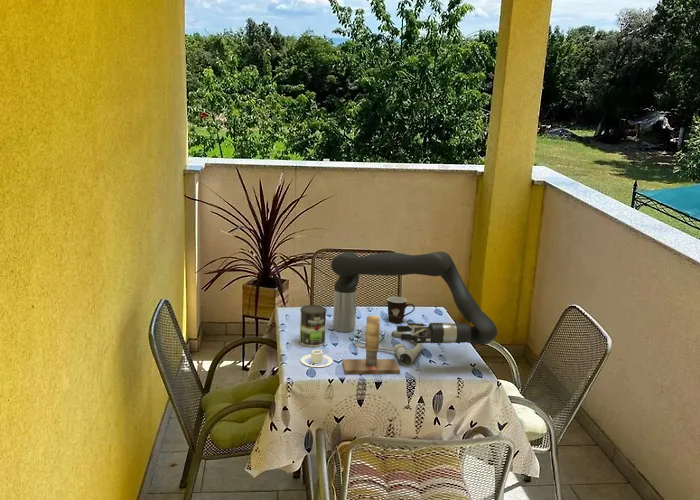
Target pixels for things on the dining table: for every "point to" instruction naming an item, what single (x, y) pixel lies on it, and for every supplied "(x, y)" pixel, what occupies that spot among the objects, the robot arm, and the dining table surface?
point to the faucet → (402, 350)
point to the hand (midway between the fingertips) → (398, 332)
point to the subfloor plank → (361, 368)
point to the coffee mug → (397, 309)
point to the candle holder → (316, 358)
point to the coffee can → (312, 325)
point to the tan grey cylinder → (372, 340)
